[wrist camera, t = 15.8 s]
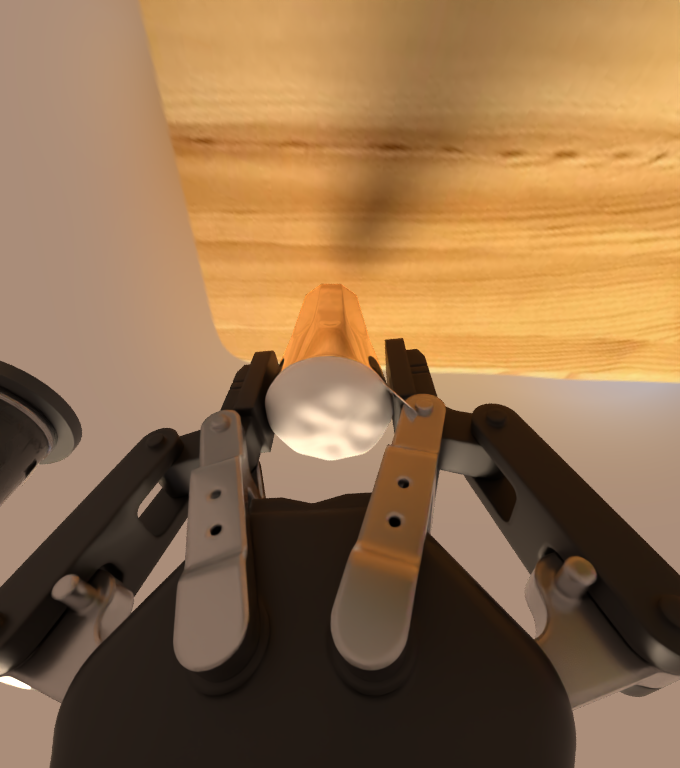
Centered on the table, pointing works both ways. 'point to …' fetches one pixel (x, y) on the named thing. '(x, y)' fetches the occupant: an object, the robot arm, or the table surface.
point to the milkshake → (330, 381)
